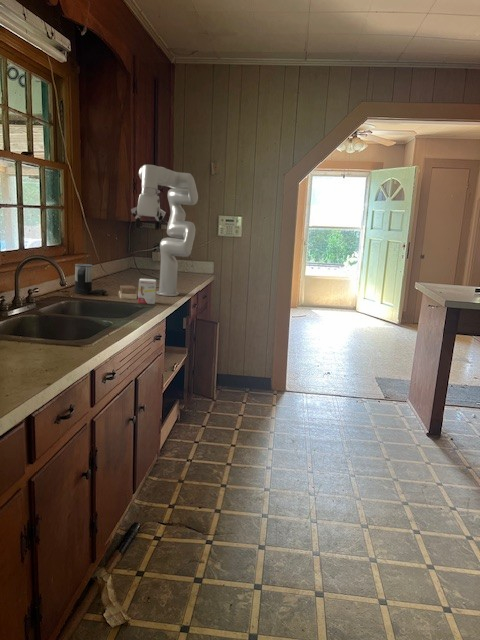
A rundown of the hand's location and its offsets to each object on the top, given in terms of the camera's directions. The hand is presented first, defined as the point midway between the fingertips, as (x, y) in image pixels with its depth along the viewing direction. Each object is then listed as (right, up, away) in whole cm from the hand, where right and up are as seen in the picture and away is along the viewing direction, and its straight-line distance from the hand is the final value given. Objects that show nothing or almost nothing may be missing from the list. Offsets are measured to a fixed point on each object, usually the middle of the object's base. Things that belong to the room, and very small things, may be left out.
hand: (147, 228), depth 232 cm
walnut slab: (-14, -30, +20) cm, 38 cm away
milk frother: (-34, -30, +22) cm, 51 cm away
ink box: (-3, -36, +11) cm, 37 cm away
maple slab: (-14, -33, +20) cm, 41 cm away
